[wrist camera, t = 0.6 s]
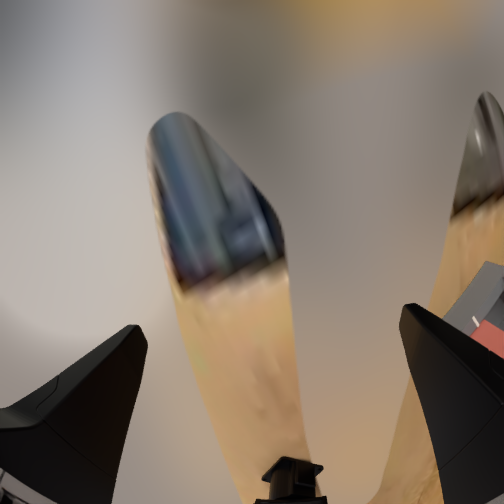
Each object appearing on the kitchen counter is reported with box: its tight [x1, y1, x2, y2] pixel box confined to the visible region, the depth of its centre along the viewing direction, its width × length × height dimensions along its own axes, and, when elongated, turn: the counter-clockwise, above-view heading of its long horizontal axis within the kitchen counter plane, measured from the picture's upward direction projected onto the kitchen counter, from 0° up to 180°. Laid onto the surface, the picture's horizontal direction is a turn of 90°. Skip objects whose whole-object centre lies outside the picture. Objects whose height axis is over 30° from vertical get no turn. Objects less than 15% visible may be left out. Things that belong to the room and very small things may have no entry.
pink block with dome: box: [469, 319, 504, 359], centre depth 18 cm, size 4×6×11 cm
